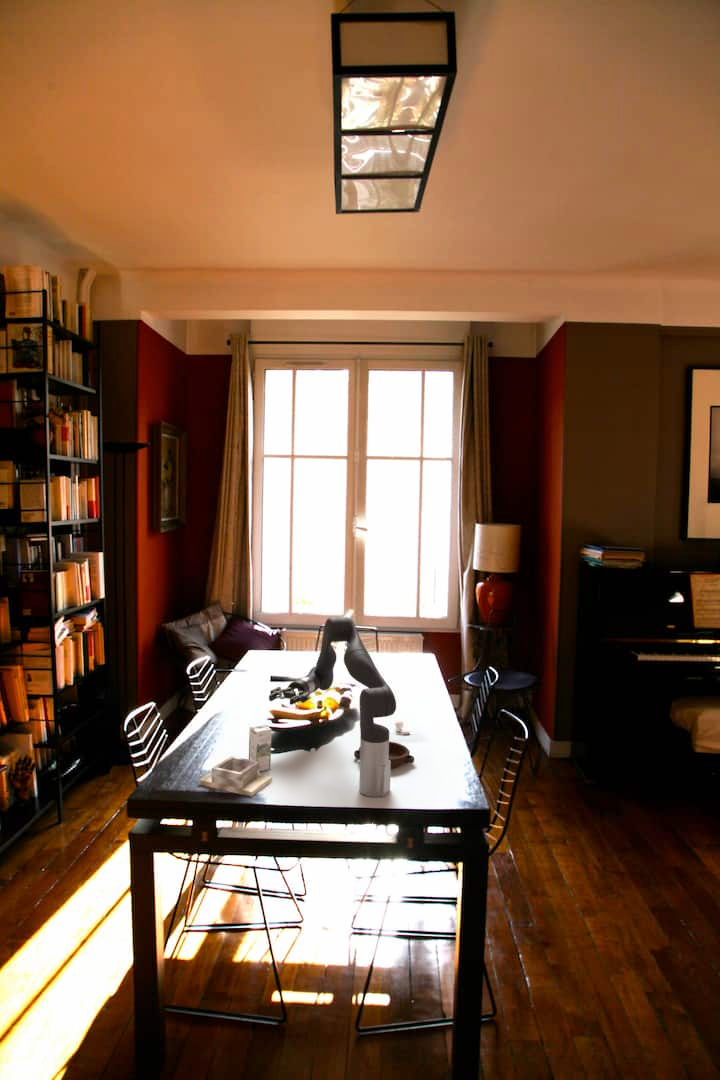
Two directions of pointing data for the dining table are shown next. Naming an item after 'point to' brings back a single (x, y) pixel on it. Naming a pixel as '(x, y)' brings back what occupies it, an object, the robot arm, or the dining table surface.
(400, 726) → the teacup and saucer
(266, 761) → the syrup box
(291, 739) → the dining table surface
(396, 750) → the dish
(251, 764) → the collar board
